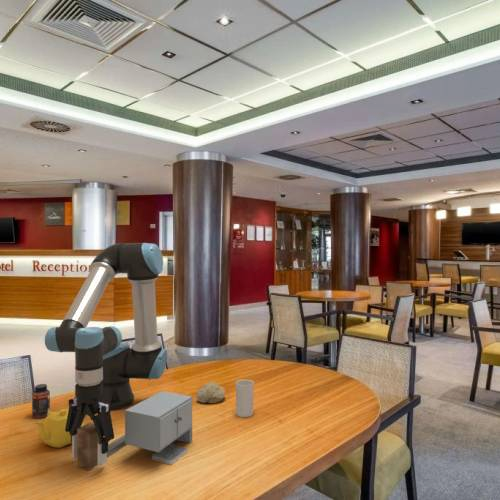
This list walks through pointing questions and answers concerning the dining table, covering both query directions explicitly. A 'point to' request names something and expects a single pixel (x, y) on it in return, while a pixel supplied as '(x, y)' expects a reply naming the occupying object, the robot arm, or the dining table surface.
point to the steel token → (169, 454)
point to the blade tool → (93, 446)
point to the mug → (244, 398)
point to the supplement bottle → (40, 401)
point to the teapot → (55, 429)
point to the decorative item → (211, 393)
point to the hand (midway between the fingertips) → (89, 460)
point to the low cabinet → (159, 421)
